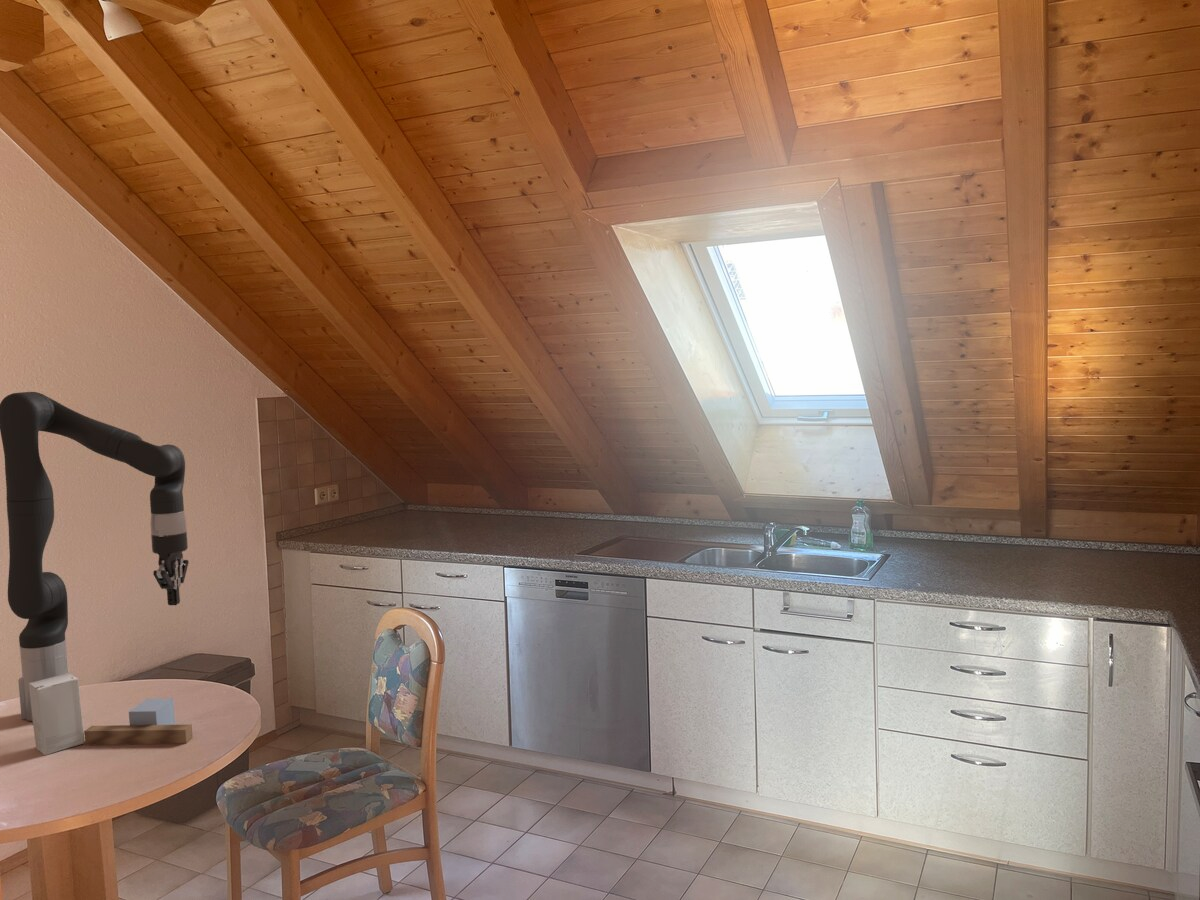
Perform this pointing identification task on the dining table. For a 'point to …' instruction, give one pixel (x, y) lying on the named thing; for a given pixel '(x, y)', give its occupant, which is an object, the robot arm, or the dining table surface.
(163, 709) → the block
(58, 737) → the skincare box
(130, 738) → the board
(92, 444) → the robot arm
